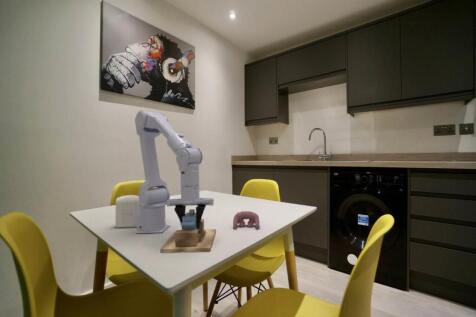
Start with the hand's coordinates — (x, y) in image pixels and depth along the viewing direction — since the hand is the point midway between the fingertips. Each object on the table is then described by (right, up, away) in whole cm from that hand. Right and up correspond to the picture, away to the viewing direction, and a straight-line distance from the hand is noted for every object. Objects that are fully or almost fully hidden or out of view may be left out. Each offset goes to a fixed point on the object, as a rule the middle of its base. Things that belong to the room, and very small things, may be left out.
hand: (191, 228), depth 69 cm
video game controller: (+18, -4, +13) cm, 22 cm away
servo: (0, -2, 0) cm, 2 cm away
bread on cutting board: (0, -4, 0) cm, 4 cm away
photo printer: (-28, -5, +17) cm, 33 cm away
